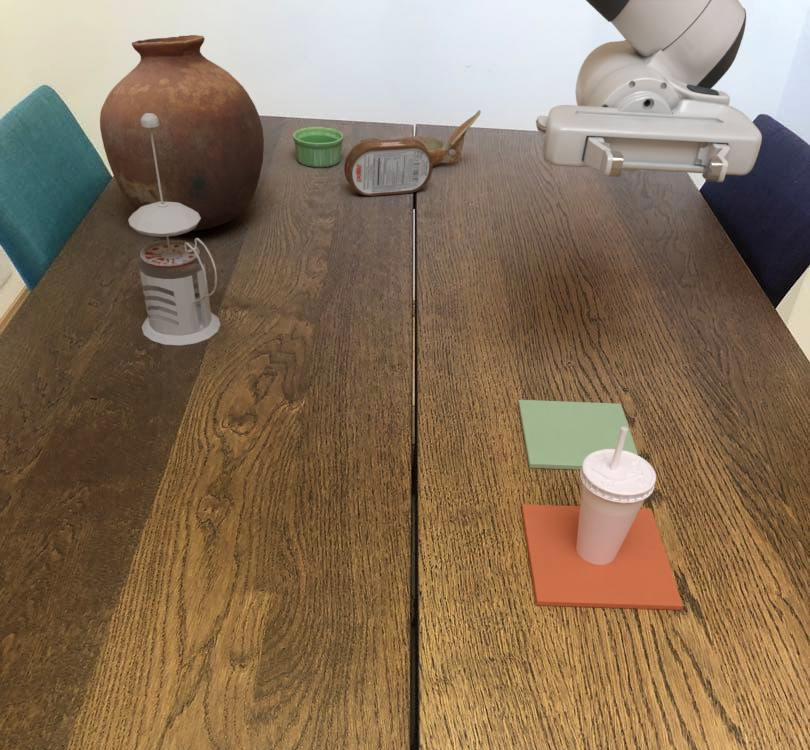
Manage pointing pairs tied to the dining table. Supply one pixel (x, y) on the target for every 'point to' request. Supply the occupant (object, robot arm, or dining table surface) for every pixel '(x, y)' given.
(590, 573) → the terracotta mat
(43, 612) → the dining table surface
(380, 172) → the tin
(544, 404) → the sage mat
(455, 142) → the oil lamp
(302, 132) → the ramekin
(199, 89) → the pottery
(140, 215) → the french press
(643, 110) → the robot arm
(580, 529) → the smoothie
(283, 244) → the dining table surface
